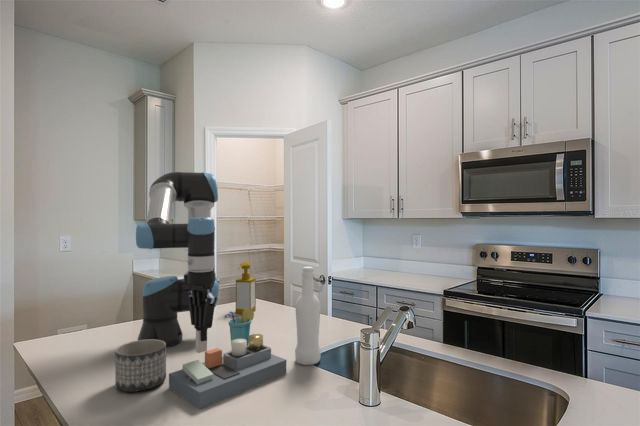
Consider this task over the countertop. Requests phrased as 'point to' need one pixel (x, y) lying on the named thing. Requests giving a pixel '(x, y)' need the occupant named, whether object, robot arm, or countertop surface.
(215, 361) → the slider knob
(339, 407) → the countertop surface
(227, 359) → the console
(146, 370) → the planter
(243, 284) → the soap bottle
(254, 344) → the button brass
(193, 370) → the block
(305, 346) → the bottle
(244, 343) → the button ivory
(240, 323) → the cup
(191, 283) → the robot arm
